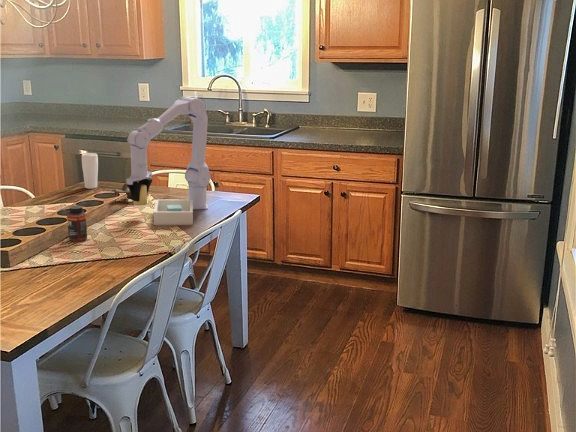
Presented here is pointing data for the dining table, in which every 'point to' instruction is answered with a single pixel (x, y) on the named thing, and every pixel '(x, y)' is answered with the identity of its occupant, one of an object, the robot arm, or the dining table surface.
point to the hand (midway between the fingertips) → (140, 199)
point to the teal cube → (174, 208)
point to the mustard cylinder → (142, 196)
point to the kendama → (124, 191)
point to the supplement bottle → (77, 224)
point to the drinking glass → (90, 169)
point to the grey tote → (173, 213)
